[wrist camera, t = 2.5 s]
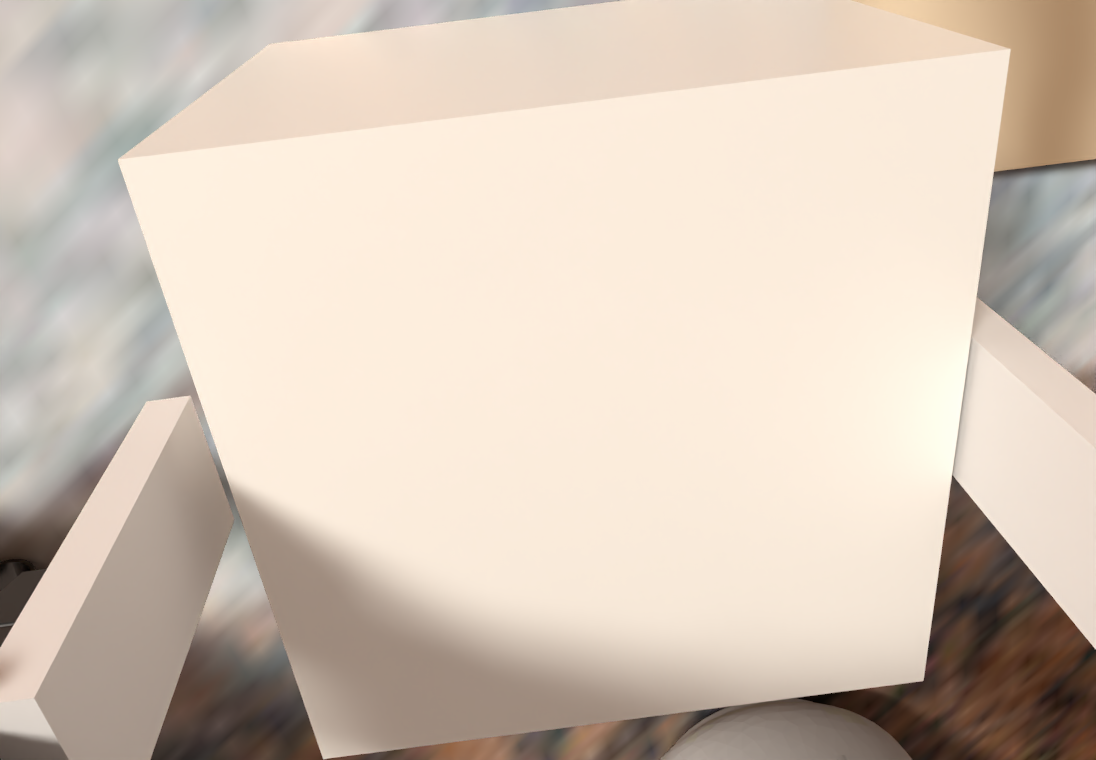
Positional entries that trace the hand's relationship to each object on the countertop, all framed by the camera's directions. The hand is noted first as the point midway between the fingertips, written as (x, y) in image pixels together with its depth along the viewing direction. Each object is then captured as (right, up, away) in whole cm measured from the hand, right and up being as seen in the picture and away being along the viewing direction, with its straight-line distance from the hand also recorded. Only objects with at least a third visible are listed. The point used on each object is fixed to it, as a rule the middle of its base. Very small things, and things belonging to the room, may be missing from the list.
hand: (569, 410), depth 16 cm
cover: (0, +4, +7) cm, 8 cm away
